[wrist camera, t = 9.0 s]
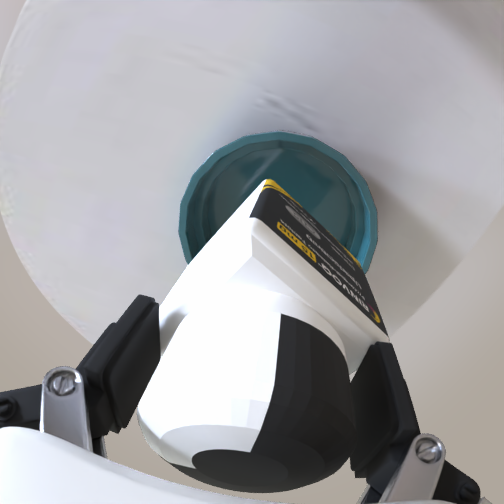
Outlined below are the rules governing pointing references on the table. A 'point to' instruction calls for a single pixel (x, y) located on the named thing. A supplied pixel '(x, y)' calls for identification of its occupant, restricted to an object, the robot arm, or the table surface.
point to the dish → (290, 180)
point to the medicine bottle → (261, 352)
